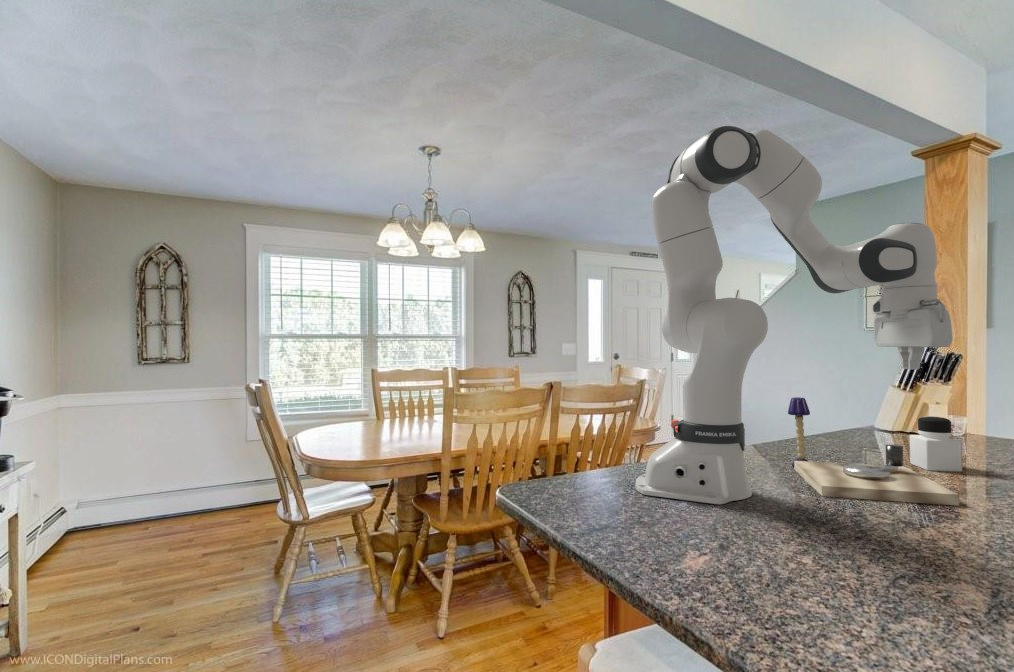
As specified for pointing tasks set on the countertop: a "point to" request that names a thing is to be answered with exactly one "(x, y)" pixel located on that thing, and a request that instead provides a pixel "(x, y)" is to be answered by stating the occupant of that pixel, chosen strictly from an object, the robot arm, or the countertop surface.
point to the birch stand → (874, 484)
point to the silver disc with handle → (878, 472)
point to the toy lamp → (799, 424)
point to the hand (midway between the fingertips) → (910, 369)
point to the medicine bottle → (935, 446)
